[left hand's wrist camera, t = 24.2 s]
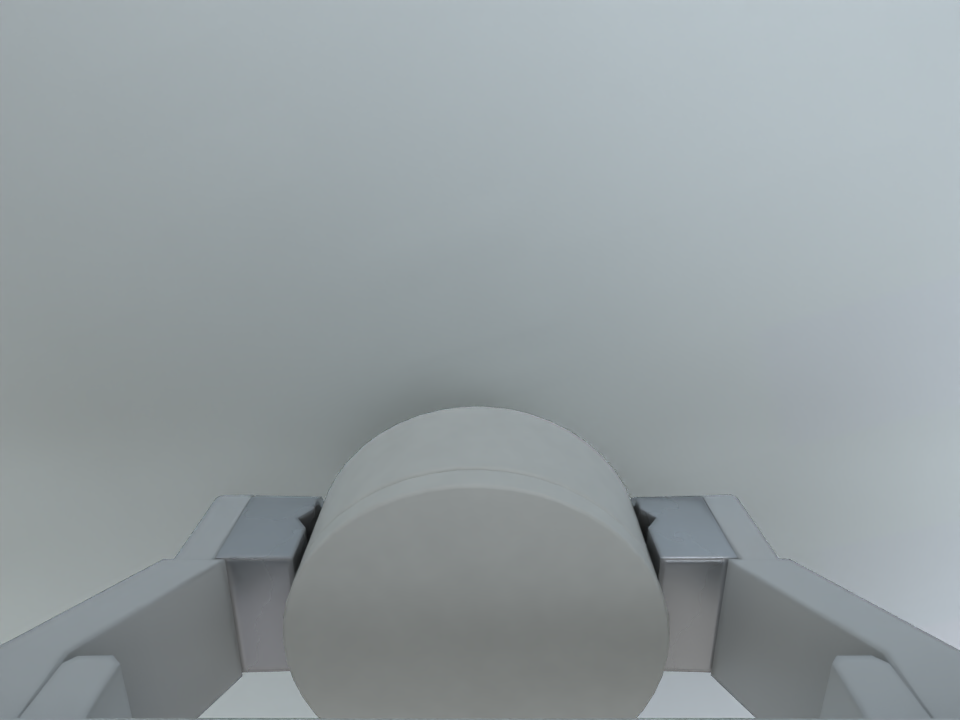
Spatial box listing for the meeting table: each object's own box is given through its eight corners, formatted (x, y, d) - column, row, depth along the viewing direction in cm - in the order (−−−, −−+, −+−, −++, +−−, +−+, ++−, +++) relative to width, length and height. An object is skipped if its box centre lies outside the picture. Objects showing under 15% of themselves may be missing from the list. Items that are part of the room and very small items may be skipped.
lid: (390, 350, 9) (364, 421, 7) (697, 480, 10) (747, 576, 8) (277, 605, 11) (233, 716, 9) (547, 700, 11) (559, 823, 9)
